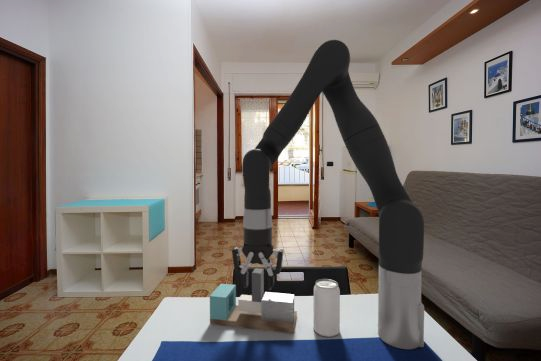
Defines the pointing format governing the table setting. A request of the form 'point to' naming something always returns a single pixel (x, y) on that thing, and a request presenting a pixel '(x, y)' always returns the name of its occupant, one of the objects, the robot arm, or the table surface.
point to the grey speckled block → (277, 307)
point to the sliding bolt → (253, 293)
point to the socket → (222, 301)
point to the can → (326, 308)
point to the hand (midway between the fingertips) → (257, 287)
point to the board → (254, 322)
